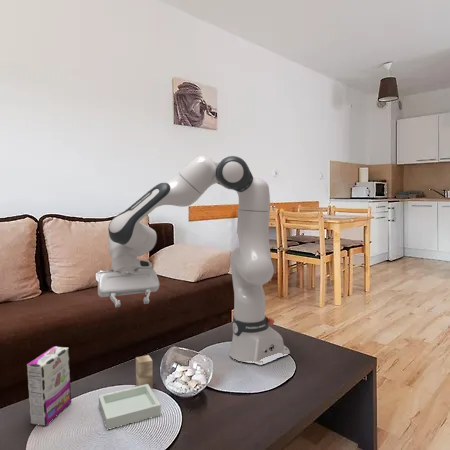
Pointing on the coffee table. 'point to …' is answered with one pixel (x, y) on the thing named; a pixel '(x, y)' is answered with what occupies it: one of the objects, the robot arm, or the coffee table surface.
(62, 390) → the candy bar box
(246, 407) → the coffee table surface
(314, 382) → the coffee table surface
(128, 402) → the tray
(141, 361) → the maple block
